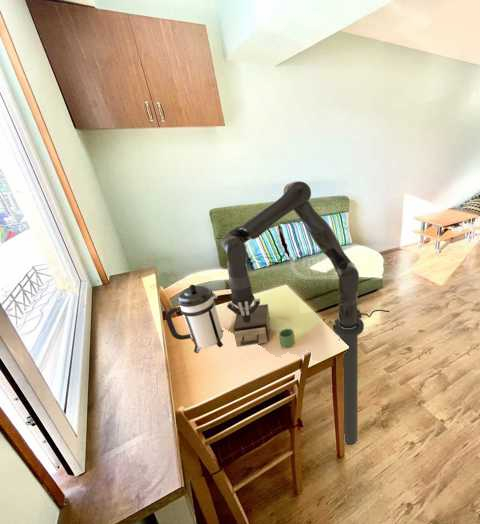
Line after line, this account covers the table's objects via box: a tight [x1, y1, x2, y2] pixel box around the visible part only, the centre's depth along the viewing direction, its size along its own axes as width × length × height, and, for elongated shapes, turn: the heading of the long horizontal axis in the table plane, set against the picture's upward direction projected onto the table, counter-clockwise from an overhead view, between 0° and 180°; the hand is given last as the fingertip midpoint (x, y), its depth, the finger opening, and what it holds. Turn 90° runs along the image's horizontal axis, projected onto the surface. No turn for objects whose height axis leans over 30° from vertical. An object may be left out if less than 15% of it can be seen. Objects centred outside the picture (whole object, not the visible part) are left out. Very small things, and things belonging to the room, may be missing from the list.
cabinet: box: [232, 303, 271, 346], centre depth 129 cm, size 17×14×9 cm
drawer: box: [233, 326, 268, 348], centre depth 124 cm, size 20×13×7 cm, turn 13°
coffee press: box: [165, 284, 224, 354], centre depth 116 cm, size 17×16×30 cm
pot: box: [278, 328, 296, 349], centre depth 122 cm, size 6×6×6 cm
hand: (247, 321), depth 115 cm, fingers closed
